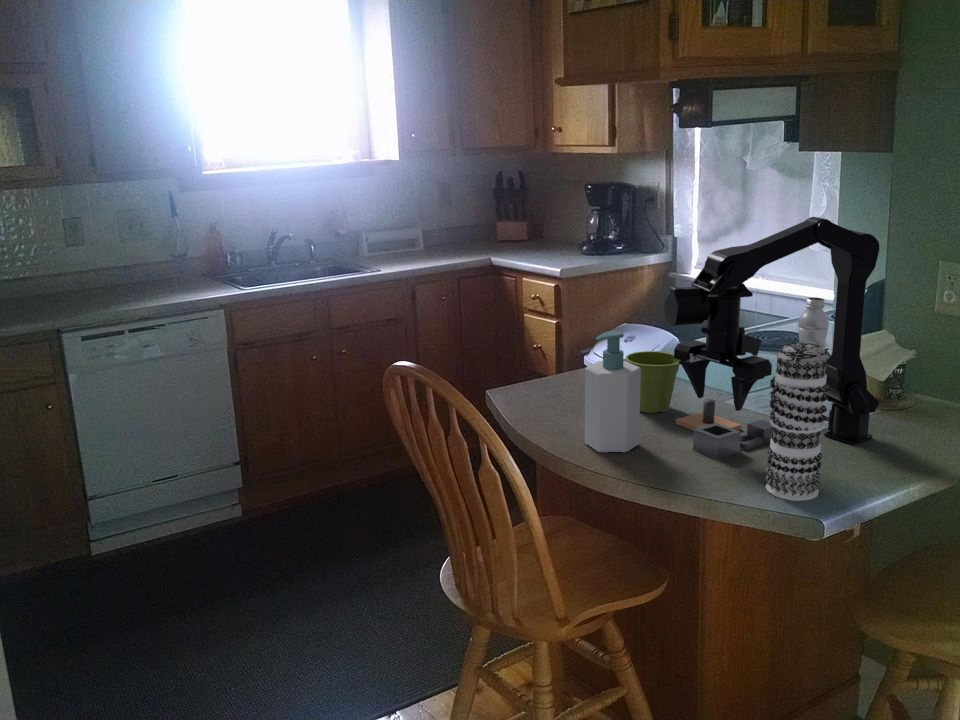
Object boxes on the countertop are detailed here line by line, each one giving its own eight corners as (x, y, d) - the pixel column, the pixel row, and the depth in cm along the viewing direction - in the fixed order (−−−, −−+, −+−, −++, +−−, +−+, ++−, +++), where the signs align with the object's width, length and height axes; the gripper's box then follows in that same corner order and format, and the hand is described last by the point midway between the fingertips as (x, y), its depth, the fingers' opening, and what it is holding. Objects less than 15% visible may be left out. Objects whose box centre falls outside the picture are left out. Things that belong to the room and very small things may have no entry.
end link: (739, 451, 170) (740, 431, 169) (717, 459, 167) (718, 438, 166) (715, 442, 175) (716, 422, 174) (692, 449, 172) (693, 429, 171)
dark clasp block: (777, 439, 176) (778, 425, 175) (743, 450, 171) (744, 435, 170) (760, 434, 179) (761, 419, 178) (726, 444, 174) (727, 429, 173)
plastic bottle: (828, 388, 206) (836, 301, 200) (798, 389, 206) (805, 302, 200) (819, 380, 212) (826, 295, 206) (789, 380, 212) (795, 296, 207)
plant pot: (685, 417, 189) (687, 365, 186) (627, 418, 190) (628, 366, 187) (675, 399, 201) (677, 350, 198) (621, 400, 201) (622, 350, 198)
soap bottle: (577, 439, 178) (578, 329, 172) (617, 432, 182) (620, 324, 176) (604, 457, 169) (606, 342, 163) (646, 449, 173) (650, 336, 167)
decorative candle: (776, 503, 148) (787, 355, 141) (754, 481, 157) (763, 340, 150) (830, 500, 149) (843, 352, 142) (805, 478, 158) (817, 337, 151)
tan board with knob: (741, 429, 182) (742, 403, 180) (712, 437, 177) (714, 411, 176) (703, 416, 190) (704, 390, 188) (675, 424, 186) (676, 398, 184)
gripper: (795, 324, 161) (789, 408, 165) (715, 306, 176) (711, 384, 180) (752, 334, 155) (747, 420, 159) (673, 315, 170) (670, 394, 175)
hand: (719, 403), depth 169 cm, fingers open, 9 cm apart
